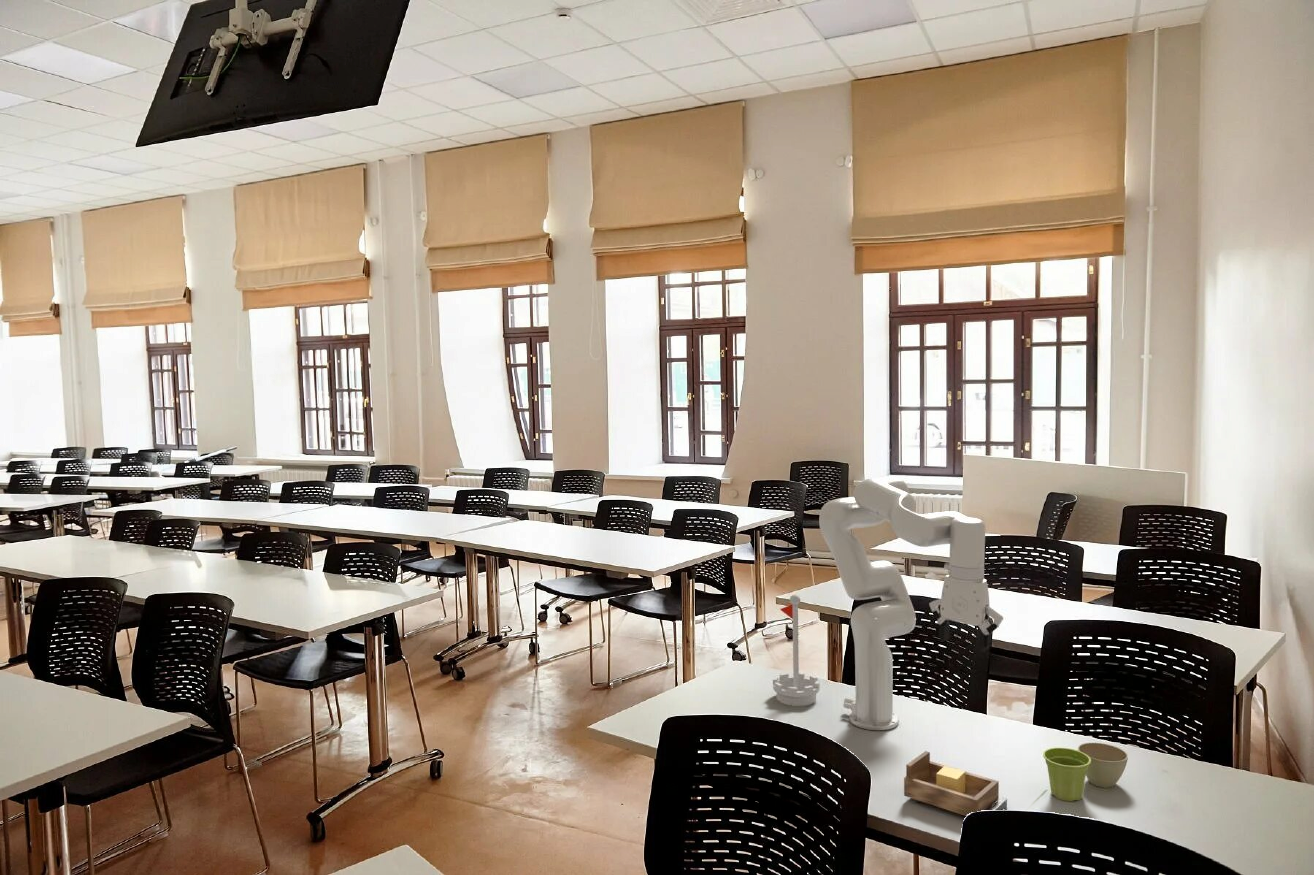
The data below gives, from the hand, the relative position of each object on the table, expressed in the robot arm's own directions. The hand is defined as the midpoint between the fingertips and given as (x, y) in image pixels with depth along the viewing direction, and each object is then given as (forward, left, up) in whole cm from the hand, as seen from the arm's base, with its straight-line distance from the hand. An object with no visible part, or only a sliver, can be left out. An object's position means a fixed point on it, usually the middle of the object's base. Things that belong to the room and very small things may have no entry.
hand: (964, 645), depth 210 cm
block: (+5, -19, -27) cm, 33 cm away
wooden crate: (+6, -19, -29) cm, 35 cm away
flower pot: (+27, +12, -29) cm, 41 cm away
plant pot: (+23, +1, -29) cm, 37 cm away
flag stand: (-54, +12, -29) cm, 63 cm away
